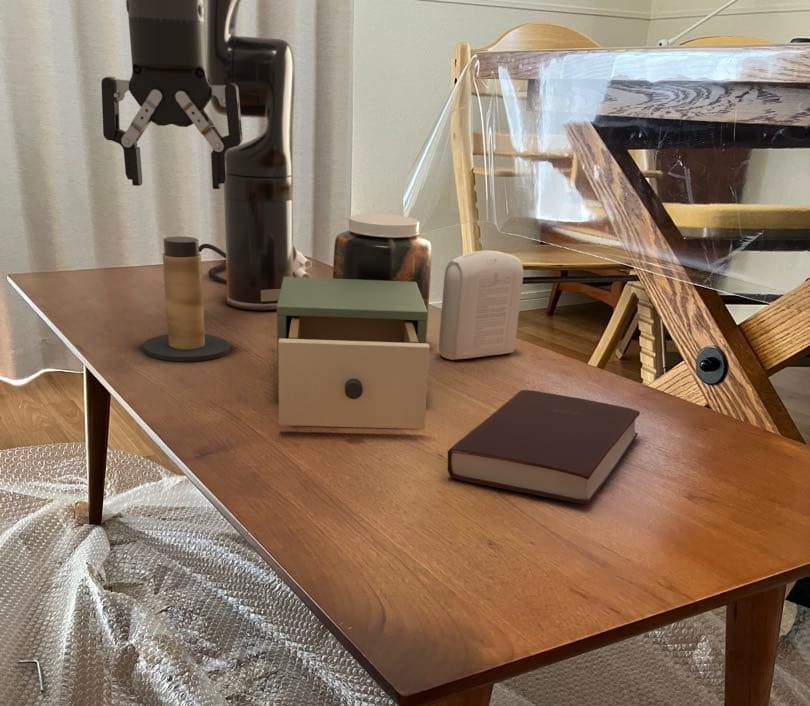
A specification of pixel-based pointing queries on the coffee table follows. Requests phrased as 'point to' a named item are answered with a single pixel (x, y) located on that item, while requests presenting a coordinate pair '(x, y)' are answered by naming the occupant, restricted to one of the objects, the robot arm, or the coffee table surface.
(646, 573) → the coffee table surface
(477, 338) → the cream rounded block
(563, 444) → the book
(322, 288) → the cabinet
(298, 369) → the drawer
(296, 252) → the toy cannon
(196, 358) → the coaster
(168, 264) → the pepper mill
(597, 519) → the coffee table surface
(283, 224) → the robot arm
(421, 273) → the jar
